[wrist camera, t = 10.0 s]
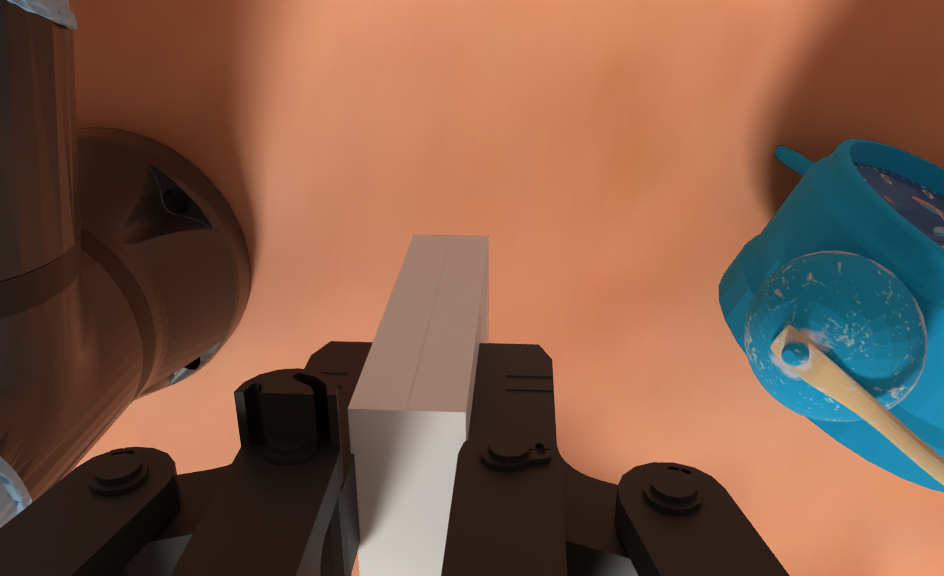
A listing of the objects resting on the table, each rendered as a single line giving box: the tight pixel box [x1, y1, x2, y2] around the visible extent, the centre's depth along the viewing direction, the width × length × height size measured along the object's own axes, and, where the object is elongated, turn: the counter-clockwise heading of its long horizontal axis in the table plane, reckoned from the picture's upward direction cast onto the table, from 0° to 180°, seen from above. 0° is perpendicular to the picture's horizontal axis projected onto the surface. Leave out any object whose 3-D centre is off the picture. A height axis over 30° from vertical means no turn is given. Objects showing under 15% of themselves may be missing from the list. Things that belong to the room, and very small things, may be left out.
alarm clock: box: [719, 139, 944, 492], centre depth 35 cm, size 17×10×20 cm, turn 66°
